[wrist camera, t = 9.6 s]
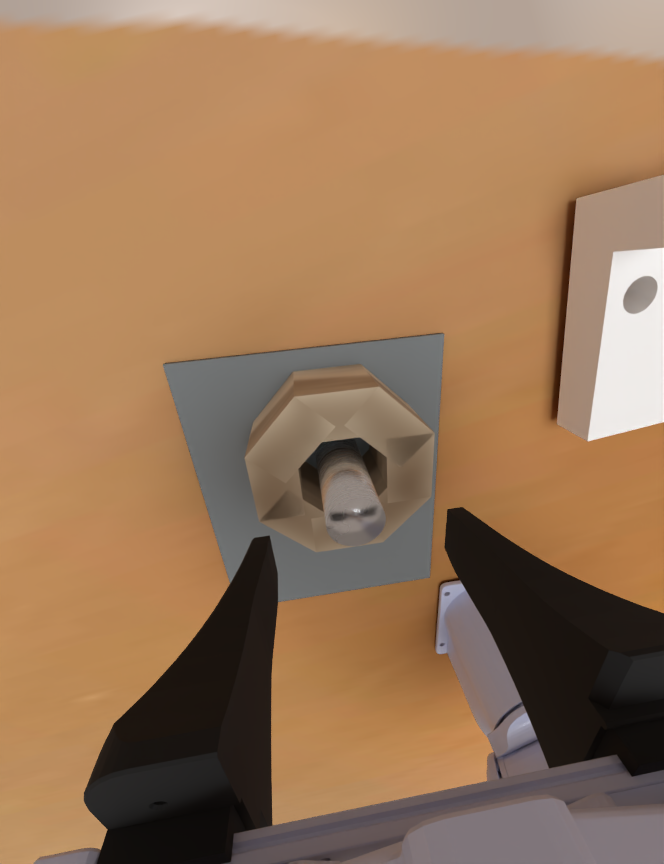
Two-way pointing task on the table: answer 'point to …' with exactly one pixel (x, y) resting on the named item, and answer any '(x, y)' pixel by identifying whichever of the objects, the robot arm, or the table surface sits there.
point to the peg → (348, 494)
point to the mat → (228, 477)
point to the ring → (328, 421)
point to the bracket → (615, 313)
